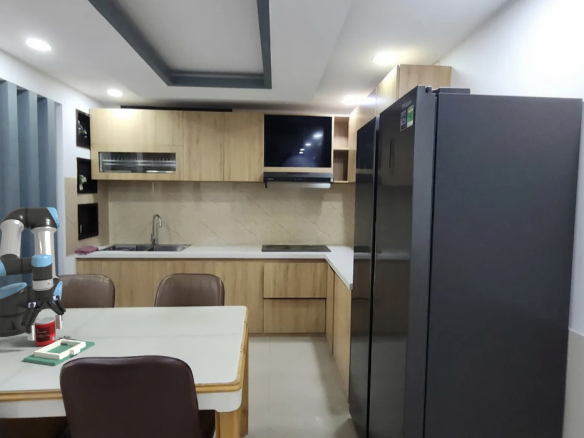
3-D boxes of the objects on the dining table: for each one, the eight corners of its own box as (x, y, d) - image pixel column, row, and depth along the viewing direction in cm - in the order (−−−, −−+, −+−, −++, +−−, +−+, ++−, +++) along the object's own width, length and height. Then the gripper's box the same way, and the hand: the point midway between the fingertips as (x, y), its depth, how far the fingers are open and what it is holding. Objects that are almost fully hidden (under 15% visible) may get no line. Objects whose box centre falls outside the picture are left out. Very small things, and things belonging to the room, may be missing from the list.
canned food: (52, 338, 164) (51, 315, 163) (58, 343, 159) (57, 319, 158) (33, 343, 158) (32, 320, 157) (38, 348, 153) (37, 324, 152)
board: (23, 361, 141) (23, 353, 141) (66, 341, 161) (65, 334, 160) (58, 366, 137) (57, 358, 137) (97, 345, 157) (97, 338, 156)
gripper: (22, 296, 144) (25, 346, 145) (73, 282, 168) (75, 325, 169) (8, 295, 145) (11, 344, 147) (60, 281, 170) (62, 323, 171)
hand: (45, 334), depth 158 cm, fingers open, 13 cm apart
